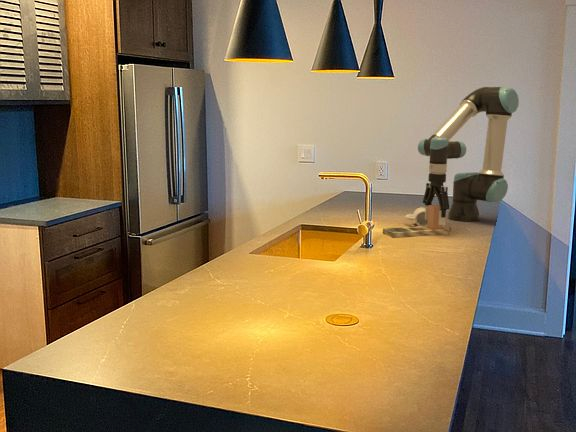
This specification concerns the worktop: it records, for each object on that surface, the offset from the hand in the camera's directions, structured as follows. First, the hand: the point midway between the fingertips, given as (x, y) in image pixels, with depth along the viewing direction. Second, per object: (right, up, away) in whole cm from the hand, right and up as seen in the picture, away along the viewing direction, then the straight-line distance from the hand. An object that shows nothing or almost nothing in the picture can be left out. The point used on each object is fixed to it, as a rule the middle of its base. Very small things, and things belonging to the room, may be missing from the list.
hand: (434, 222), depth 292 cm
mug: (-4, -2, +16) cm, 17 cm away
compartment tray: (-9, -5, -2) cm, 10 cm away
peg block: (0, -5, +1) cm, 5 cm away
